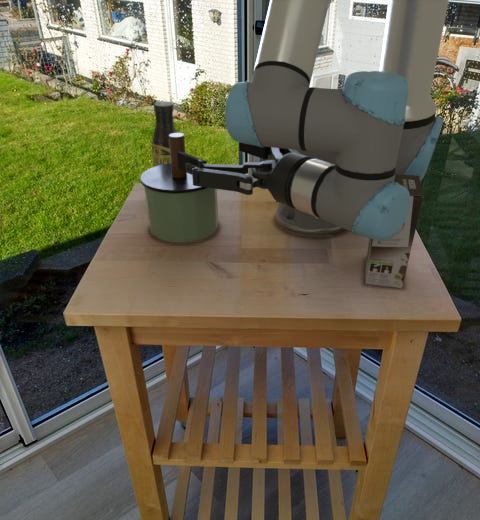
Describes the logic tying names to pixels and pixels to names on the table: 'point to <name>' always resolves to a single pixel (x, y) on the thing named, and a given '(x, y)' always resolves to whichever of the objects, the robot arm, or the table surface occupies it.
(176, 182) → the lid
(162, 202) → the pot
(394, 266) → the coffee box
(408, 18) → the robot arm
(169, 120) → the sauce bottle
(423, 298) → the table surface
